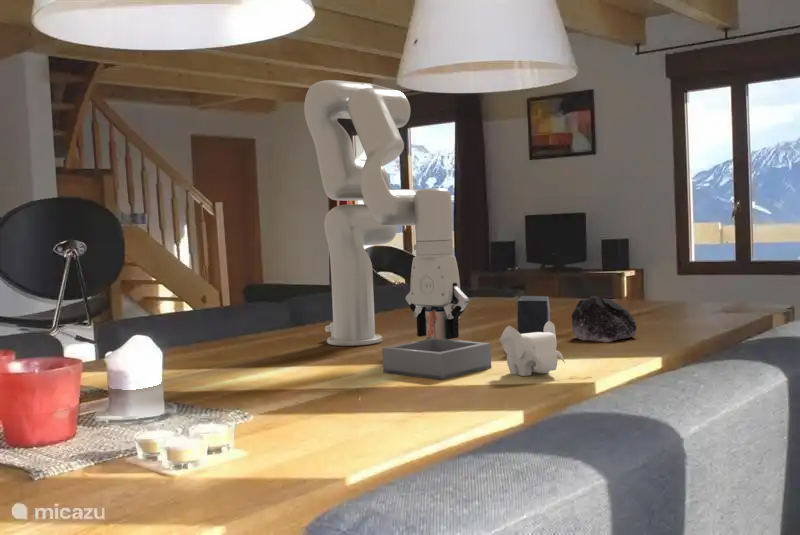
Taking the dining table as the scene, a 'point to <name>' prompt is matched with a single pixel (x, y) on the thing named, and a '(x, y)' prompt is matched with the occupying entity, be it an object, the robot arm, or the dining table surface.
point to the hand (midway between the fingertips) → (437, 336)
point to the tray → (436, 358)
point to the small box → (532, 313)
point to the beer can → (435, 322)
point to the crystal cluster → (602, 320)
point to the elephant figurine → (531, 350)
